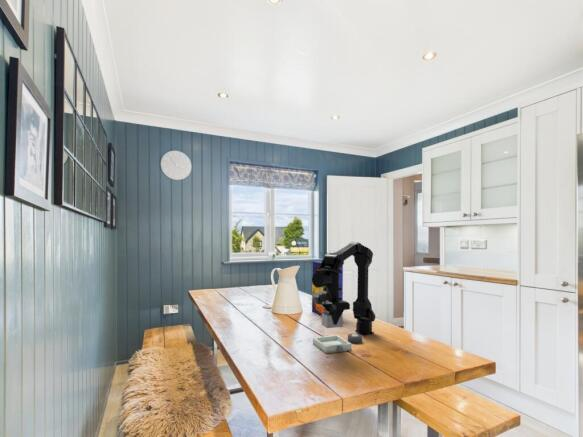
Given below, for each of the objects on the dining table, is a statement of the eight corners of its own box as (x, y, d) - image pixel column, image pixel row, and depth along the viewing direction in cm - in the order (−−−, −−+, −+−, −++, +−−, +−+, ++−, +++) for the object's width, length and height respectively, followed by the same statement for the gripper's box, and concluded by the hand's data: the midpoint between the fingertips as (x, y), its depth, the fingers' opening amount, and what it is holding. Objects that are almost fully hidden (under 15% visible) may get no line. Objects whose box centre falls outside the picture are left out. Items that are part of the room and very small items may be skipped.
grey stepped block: (336, 323, 137) (336, 308, 138) (342, 326, 133) (342, 311, 133) (321, 324, 135) (321, 309, 135) (327, 328, 130) (327, 312, 130)
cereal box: (311, 312, 191) (312, 261, 193) (320, 311, 194) (321, 260, 195) (333, 321, 172) (333, 264, 173) (342, 320, 175) (342, 264, 176)
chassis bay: (335, 339, 142) (335, 333, 142) (353, 351, 128) (353, 345, 129) (311, 342, 138) (311, 336, 138) (327, 355, 124) (327, 348, 124)
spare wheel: (356, 338, 145) (357, 332, 145) (364, 342, 139) (364, 336, 139) (345, 339, 142) (345, 333, 143) (352, 344, 137) (352, 338, 137)
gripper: (305, 282, 140) (305, 318, 140) (325, 289, 123) (325, 331, 122) (328, 281, 144) (328, 316, 144) (350, 288, 127) (350, 328, 126)
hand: (332, 322), depth 134 cm, fingers closed on grey stepped block, 5 cm apart
